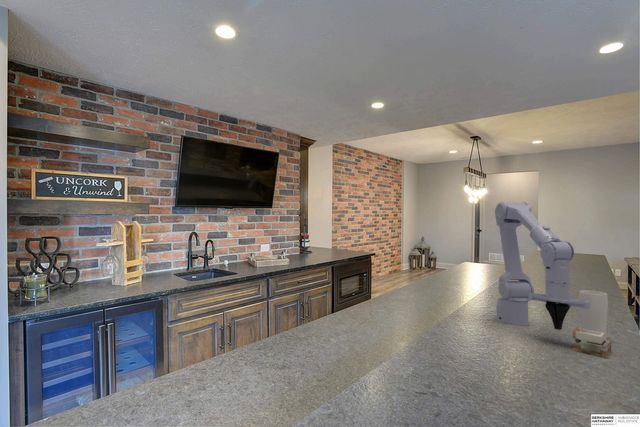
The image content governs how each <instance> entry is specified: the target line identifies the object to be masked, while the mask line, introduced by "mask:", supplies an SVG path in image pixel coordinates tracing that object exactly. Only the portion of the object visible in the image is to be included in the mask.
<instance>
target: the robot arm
mask: <svg viewBox="0 0 640 427" xmlns="http://www.w3.org/2000/svg"><path fill="white" fill-rule="evenodd" d="M494 216H495V221H496V225H497V226H498V227H499V234H500V240H501V241H500V242H501V249H502V256H503V262H504V271H505V272H504V273H503V274H502V275H500V276H499V278H498V288H497V289H498V292H499V296H501V297H499V298H498V299H497V301H496V322H500V323H503V324H504V323H505V324H508V325H513V326H517V327H518V326H519V327H527V326H529V302H530V301H537V302H543V303H545V304H544V306H545V309H546V311H547V312H548V314H549V315H550V317H551V321H552V323H553V329H554V330H558V331H561V330H562V329H563V324H564V321H565V318H566V315H567V314H568V312H569V310H570V308H571V307H574V308H579V309H580V308H584V309H589V308H590V301H584V300H579V298H574V297H570V296H571V294H570V293H571V292H570V261H572V260H573V259H574V257H575V250H574V246H573V245H572V244H571V242H570V241H567V240H562V239H560V238H559V237H558V236H557V235H556V234H555V233H554V231H552V230H551V228H550V227H549V226H548V225H542V224H541V223H540V222H539V221H538V220H537V218H536V217H535V216H534V215H533V213H532V206H530V204H529V203H528V202H526V201H524V202H523V201H522V202H511V201H507V202H506V201H505V202H504V201H499V202H498V204H496V207H495V210H494ZM521 226H524V227H525V228H526V229H527V230H528V231H529V237H530V238H531V240H532V241H534V243H535V244H536V246H538V248H539V249H540V250H539V253H540V257H541V258H542V264H543V266H544V268H545V270H544V272H545V275H544V277H545V293H535V289H534V285H533V284H532V281H531V277H530V276H529V275H527V274H526V273H524V272H523V267H522V263H521V261H522V260H521V255H520V249H519V242H518V236H517V235H518V234H517V229H518V227H521Z"/></svg>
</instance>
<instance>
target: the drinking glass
mask: <svg viewBox="0 0 640 427" xmlns="http://www.w3.org/2000/svg"><path fill="white" fill-rule="evenodd" d="M578 299H579V300H584V301H590V308H589V309H584V308H580V307H579V310H580V313H579V314H580V319H581V326H582V328H581V329H586V330H591V331H596V332H601V333H605V340H607V326H608V315H609V296H608V293H606V292H603V291H598V290H588V289H587V290H586V289H585V290H579V292H578Z"/></svg>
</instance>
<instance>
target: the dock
mask: <svg viewBox="0 0 640 427" xmlns="http://www.w3.org/2000/svg"><path fill="white" fill-rule="evenodd" d="M571 351H572V352H573V351H574V352H576V353H577V352H578V353H582V354H586V355H590V356H594V357H599V358H602V359H607V358H609V356H610V354H611V353H612V340H609V339H606V340H605V341H604V342H603V343H602V344H600V345H596V344H594V343H593V342H588V341H584V340H581V342H580V343H577V344H576V345H575V346H574V347H572V349H571Z"/></svg>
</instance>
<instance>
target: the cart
mask: <svg viewBox="0 0 640 427" xmlns="http://www.w3.org/2000/svg"><path fill="white" fill-rule="evenodd" d="M572 338H573V339H574V341H575V342H576V343H577V344H578V343H579V344H581V341H583V342H586V341H588V342H593V343H594V344H596V345H600V344H602V343H603V342H604V341H605V333H601V332H596V331H591V330H586V329H583V328H581V327H576V328H575V329H573V330H572Z"/></svg>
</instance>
